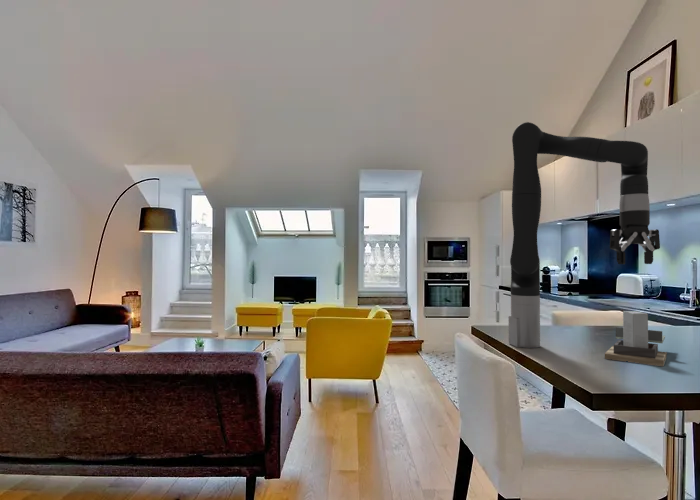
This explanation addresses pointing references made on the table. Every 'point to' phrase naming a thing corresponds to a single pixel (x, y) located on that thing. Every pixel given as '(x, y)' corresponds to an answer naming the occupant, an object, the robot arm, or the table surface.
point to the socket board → (637, 354)
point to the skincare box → (635, 329)
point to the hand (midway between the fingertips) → (634, 264)
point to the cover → (652, 335)
